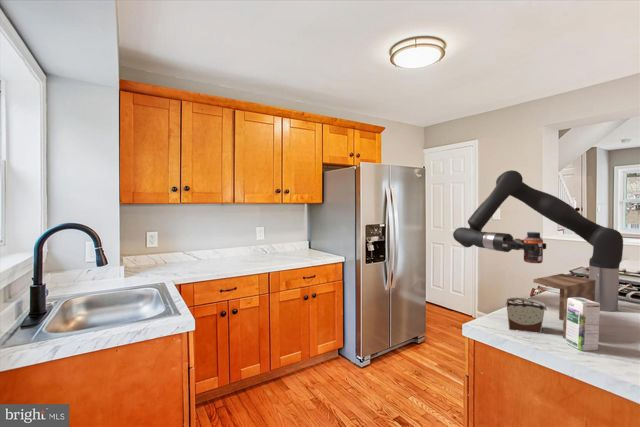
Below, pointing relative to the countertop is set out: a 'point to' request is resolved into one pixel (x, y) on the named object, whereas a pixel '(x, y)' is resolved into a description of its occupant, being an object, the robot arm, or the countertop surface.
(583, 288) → the walnut cubby
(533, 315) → the food container
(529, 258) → the supplement bottle
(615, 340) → the countertop surface
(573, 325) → the syrup box
